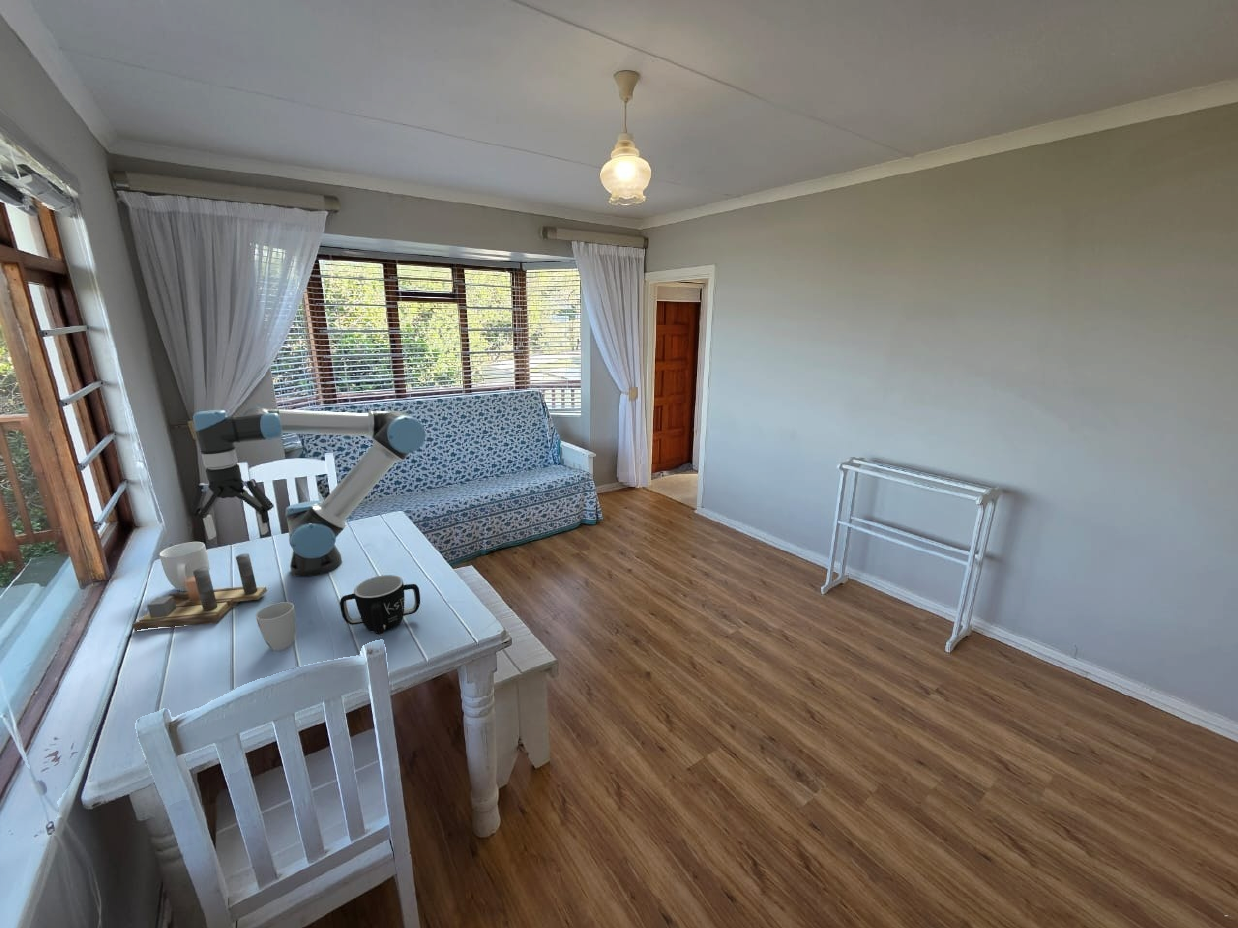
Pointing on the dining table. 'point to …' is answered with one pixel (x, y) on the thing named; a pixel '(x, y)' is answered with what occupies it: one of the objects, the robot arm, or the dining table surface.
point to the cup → (277, 625)
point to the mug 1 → (183, 562)
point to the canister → (192, 589)
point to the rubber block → (161, 606)
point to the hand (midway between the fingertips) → (239, 535)
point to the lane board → (187, 620)
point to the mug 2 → (380, 603)
